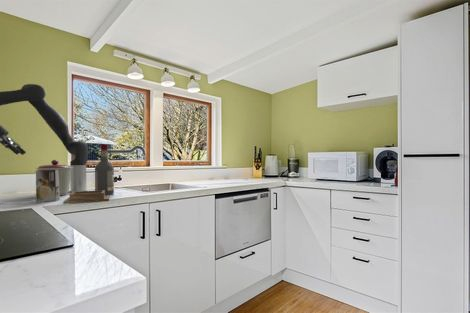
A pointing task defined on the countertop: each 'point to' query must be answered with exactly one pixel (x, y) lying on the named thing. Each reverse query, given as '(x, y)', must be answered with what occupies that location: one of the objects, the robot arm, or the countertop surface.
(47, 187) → the coffee box
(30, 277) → the countertop surface
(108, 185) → the liquor
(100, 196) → the walnut caddy
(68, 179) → the canister
